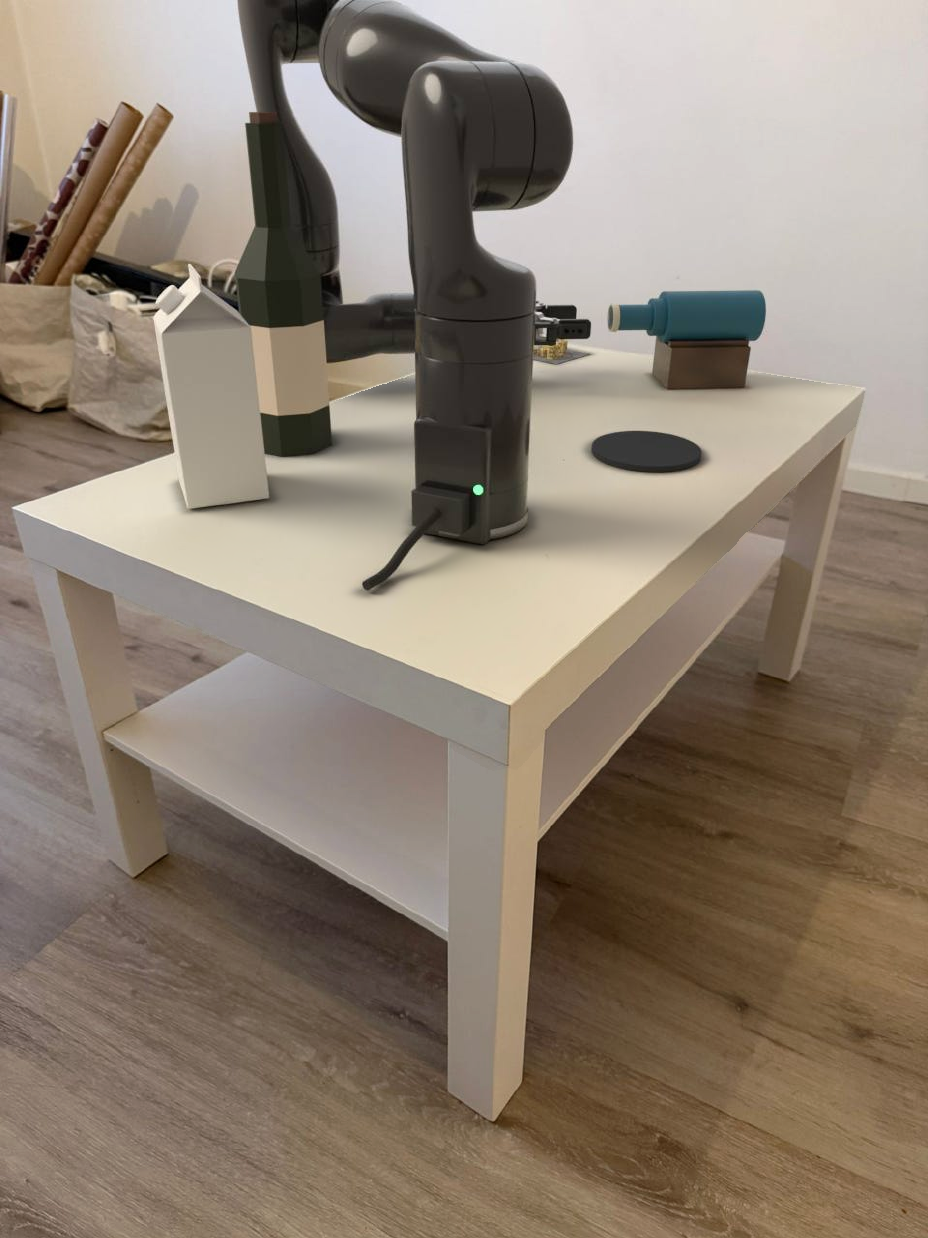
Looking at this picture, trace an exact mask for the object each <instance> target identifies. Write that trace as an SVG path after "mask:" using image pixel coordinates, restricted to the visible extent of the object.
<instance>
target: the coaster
mask: <svg viewBox="0 0 928 1238" xmlns="http://www.w3.org/2000/svg"><path fill="white" fill-rule="evenodd" d="M590 451H591V454H592V456H593V457H595V458H596V459H597V460H598V461H600V462H602V463H604V464H606V465H609V466H612V467H615V468H618V469H623V470H629V471H634V472H642V473H643V472H644V473H666V472H667V473H669V472H677V471H683V470H686V469H690V468H692V467H694V466H696V465H697V464H699V463H700V461H701V459H702V456H703V455H702V454H703V451H702V448H701V447H700V446H699V445H698V444H696V443H695V442H693V441H691V440H690V439H687V438H686V437H683V436H679V435H675V434H671V433H666V432H662V431H661V432H659V431H650V430H623V431H622V430H621V431H614V432H610V433H606V434H603V435H600V436H598V437H597V438H595V439H594V440H593V441H592V443H591V450H590Z"/></svg>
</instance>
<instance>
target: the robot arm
mask: <svg viewBox="0 0 928 1238" xmlns="http://www.w3.org/2000/svg"><path fill="white" fill-rule="evenodd" d="M236 1H237V2H236V3H237V11H238V19H239V20H238V21H239V26H240V32H241V39H242V43H243V44H242V45H243V49H244V54H245V59H246V64H247V69H248V75H249V80H250V84H251V90H252V95H253V101H254V106H255V110H256V111H255V112H277V119H278V123H283V131H284V144H285V156H286V168H287V181H288V193H289V206H290V218H291V227H292V228H293V230H294V232H295V233H296V235H297V237H298V238H299V240H300V242H301V243H302V245H303V246H304V248H305V250H306V251H307V253H308V255H309V256H310V258H311V260H312V261H313V263H314V265H315V266H316V268H317V269H318V271H319V273H320V274H321V288H322V303H323V317H324V332H325V347H326V362H327V364H336V363H343V362H348V361H353V360H358V359H364V358H367V357H372V356H374V355H413V354H414V377H415V378H414V379H415V381H414V383H415V420H414V422H413V434H414V435H413V437H414V439H413V441H414V442H413V443H414V445H413V446H414V487H415V488H414V489H412V490H411V492H410V493H411V494H410V496H411V526H412V527H414V529H413V530H412V531H411V532H410V533H409V534H408V535H407V537H406V538H405V539H404V540H403V541H402V543H401V544H400V545H399V547H398V548H397V550H396V551H395V553H394V554H393V556H392V557H391V558H390V560H389V561H388V562H387V563H386V564H385V566H383V568H381V570H380V571H378V572H376V573H375V574H374V575H371V576H370V577H369V578H366V579H365V580H363V581H362V583H361V585H362V588H363V589H364V590H365V591H368V592H369V591H371V590H372V589H373V588H375V587H377V586H378V585H380V584H382V583H383V582H385V581H386V580H388V579H389V578H390V577H391V576H392V575H393V574H394V573H395V572H396V571H397V570H398V568H399V567H400V565H401V564H402V563H403V561H404V559H406V557H407V556H408V554H409V552H410V551H411V549H412V548H413V547H414V546H415V545H416V544H417V542H419V540H420V539H421V538H422V537H423V536H424V535H425V534H427V535H433V536H437V537H442V538H443V537H444V538H448V539H452V540H457V541H463V542H468V543H472V544H478V545H485V544H487V542H489V541H490V540H494V539H498V538H503V537H506V536H507V537H508V536H509V535H512V534H515V533H517V532H518V531H520V530H522V529H523V528H524V527H525V526H526V524H527V523H528V519H529V518H528V517H529V508H528V492H529V491H528V490H529V466H530V465H529V464H530V460H529V459H530V440H531V417H532V397H533V396H532V395H533V374H534V373H533V372H534V371H533V370H534V359H533V351H534V347H535V346H542V345H549V346H553V345H556V343H557V341H559V339H566V340H588V339H589V338H590V337H591V334H592V333H591V332H592V321H591V320H590V319H589V318H577V313H578V308H577V307H576V305H574V304H546V303H545V302H540V301H539V300H537V278H536V275H535V274H534V272H533V271H532V270H531V269H530V268H529V267H527V266H526V265H522V264H521V263H517V262H515V261H512V260H509V259H505V258H502V257H500V256H498V255H495V254H493V253H492V252H491V251H489V250H487V249H486V248H485V247H484V246H483V245H482V244H481V243H480V242H479V241H478V239H477V235H476V231H475V222H474V212H497V211H500V212H501V211H515V210H522V209H524V208H528V207H531V206H535V205H538V204H540V203H542V202H544V201H545V200H546V199H548V198H549V197H551V195H553V194H554V193H555V192H556V191H557V190H558V188H559V187H560V185H561V184H562V183H563V182H564V180H565V177H566V175H567V173H568V172H569V170H570V166H571V163H572V158H573V151H574V128H573V124H572V123H573V122H572V118H571V113H570V110H569V107H568V105H567V102H566V100H565V97H564V95H563V93H562V91H561V90H560V88H559V87H558V85H557V84H556V82H555V81H554V80H553V78H552V77H551V76H550V75H549V74H548V73H547V72H546V71H544V70H543V69H541V68H540V67H538V66H536V65H533V64H530V63H527V62H522V61H519V60H514V59H510V58H506V57H504V56H500V55H497V54H493V53H491V52H487V51H484V50H481V49H479V48H477V47H475V46H474V45H472V44H471V43H468V42H467V41H465V40H463V39H462V38H461V37H459V36H458V35H456V34H454V33H453V32H452V31H450V30H448V29H446V28H445V27H443V26H441V25H440V24H437V23H436V22H434V21H432V20H431V19H429V18H427V17H426V16H424V15H423V14H421V13H419V12H418V11H417V10H415V9H414V8H413V7H411V6H409V5H407V4H405V3H403V2H401V1H400V0H236ZM287 64H288V65H289V64H319V69H320V73H321V75H322V78H323V80H324V82H325V84H326V86H327V88H328V90H329V91H330V92H331V94H332V95H333V97H335V99H336V101H338V103H340V104H341V105H342V106H343V107H344V108H345V109H347V110H348V111H349V112H351V114H353V115H354V116H355V117H356V118H357V119H359V120H360V121H361V122H363V123H365V124H366V125H368V126H370V127H371V128H373V129H376V130H378V131H380V132H383V133H386V134H388V135H392V136H395V137H399V138H400V139H401V140H400V141H401V158H402V159H401V161H402V173H403V175H402V176H403V186H404V198H405V214H406V230H407V231H406V233H407V253H408V264H409V270H410V276H411V282H412V289H413V292H384V293H376V294H372V295H370V296H369V297H368V298H367V299H365V300H364V301H361V302H352V303H350V302H349V303H344V297H343V296H344V295H343V287H342V280H341V279H342V278H341V271H340V259H341V243H340V242H341V241H340V240H341V239H340V223H339V208H338V199H337V194H336V189H335V188H334V184H333V182H332V178H331V177H330V174H329V172H328V170H327V168H326V167H325V165H324V163H323V161H322V159H321V158H320V157H319V155H318V154H317V152H316V150H315V148H314V147H313V145H312V144H311V142H310V141H309V139H308V137H307V135H306V134H305V133H304V131H303V128H302V127H301V125H300V123H299V122H298V120H297V117H296V116H295V114H294V111H293V109H292V106H291V104H290V101H289V98H288V95H287V90H286V87H285V86H286V85H285V81H284V75H283V65H287ZM544 329H546V333H544Z"/></svg>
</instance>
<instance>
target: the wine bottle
mask: <svg viewBox="0 0 928 1238" xmlns="http://www.w3.org/2000/svg"><path fill="white" fill-rule="evenodd" d="M248 116H249V117H248V118H249V122H244V126H245V137H246V147H247V158H248V167H249V178H250V187H251V196H252V207H253V218H254V227H253V229H252V232H251V234H250V236H249V239H248V241H247V243H246V245H245V248H244V249H243V252H242V255H241V257H240V259H239V261H238V264H237V266H236V268H235V270H234V277H235V278H234V279H235V289H236V297H237V306H238V312H239V314H240V315H241V316H242V317H243V318H244V320H245V321H246V322H247V323H248V324H249V326H250V327H251V333H252V342H253V351H254V361H255V370H256V379H257V388H258V398H259V407H260V416H261V426H262V435H263V444H264V453H265V454H267V455H273V456H277V457H294V456H302V455H303V456H304V455H314V454H317V453H319V452H320V451H322V450H324V449H327V448H329V447H330V446H332V445H333V438H332V437H333V436H332V424H331V422H332V421H331V407H330V392H329V378H328V363H327V362H326V347H325V332H324V317H323V303H322V288H321V274H320V273H319V271H318V269H317V268H316V266H315V265H314V263H313V261H312V260H311V258H310V256H309V255H308V253H307V251H306V250H305V248H304V246H303V245H302V243H301V242H300V240H299V238H298V237H297V235H296V233H295V232H294V230H293V228H292V227H291V218H290V206H289V193H288V181H287V168H286V156H285V144H284V131H283V123H278V119H277V112H257V111H248Z"/></svg>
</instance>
